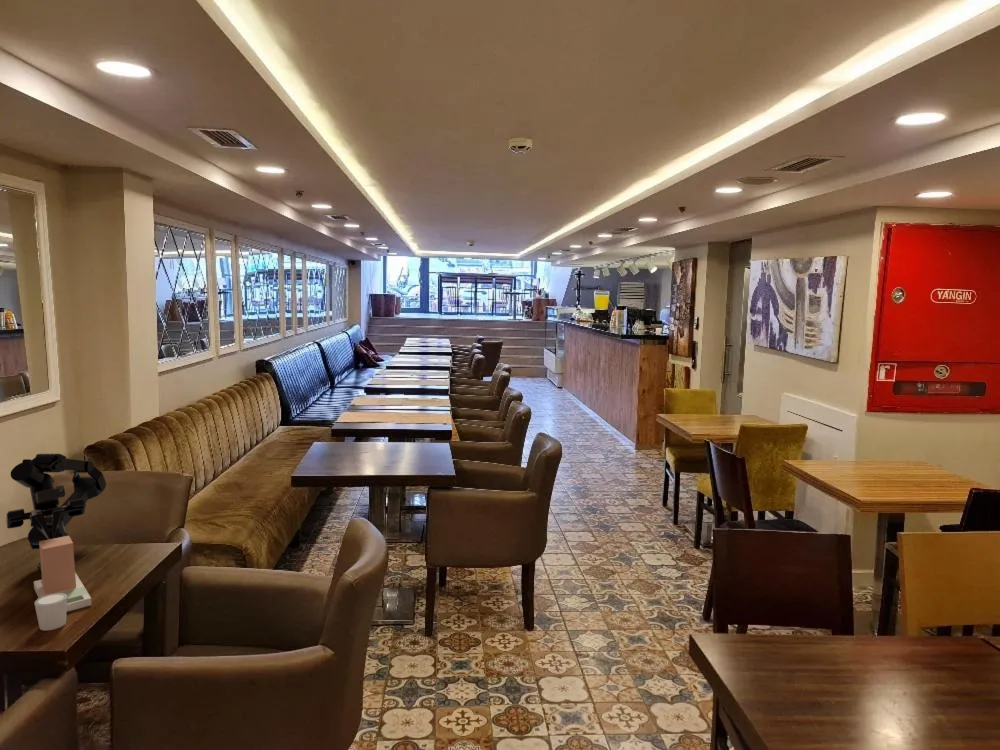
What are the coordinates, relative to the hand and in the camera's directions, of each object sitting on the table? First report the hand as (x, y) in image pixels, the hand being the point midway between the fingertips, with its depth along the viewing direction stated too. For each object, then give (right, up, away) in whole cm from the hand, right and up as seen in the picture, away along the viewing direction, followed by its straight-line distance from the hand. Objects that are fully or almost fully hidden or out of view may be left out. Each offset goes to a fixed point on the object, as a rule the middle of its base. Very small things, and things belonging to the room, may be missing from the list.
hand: (51, 538), depth 185 cm
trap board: (+7, -15, -6) cm, 17 cm away
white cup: (+15, -17, -21) cm, 31 cm away
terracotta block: (+5, -12, -5) cm, 14 cm away
